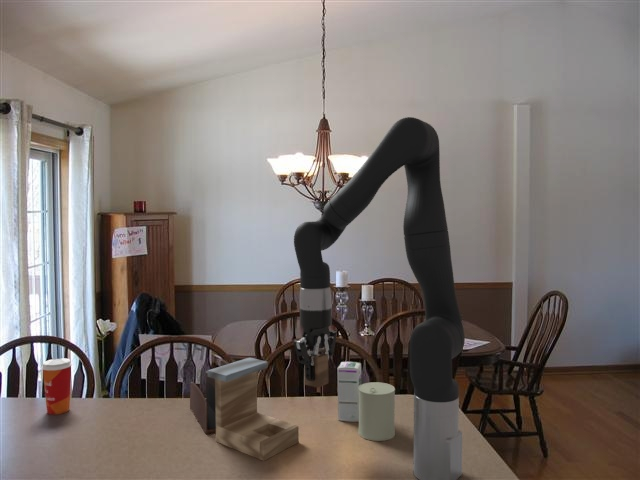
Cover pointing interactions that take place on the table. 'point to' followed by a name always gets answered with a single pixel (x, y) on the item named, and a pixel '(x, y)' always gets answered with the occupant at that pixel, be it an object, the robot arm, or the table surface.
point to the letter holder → (205, 403)
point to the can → (376, 411)
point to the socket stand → (247, 412)
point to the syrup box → (348, 391)
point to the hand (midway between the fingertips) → (316, 377)
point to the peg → (319, 371)
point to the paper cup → (57, 385)
